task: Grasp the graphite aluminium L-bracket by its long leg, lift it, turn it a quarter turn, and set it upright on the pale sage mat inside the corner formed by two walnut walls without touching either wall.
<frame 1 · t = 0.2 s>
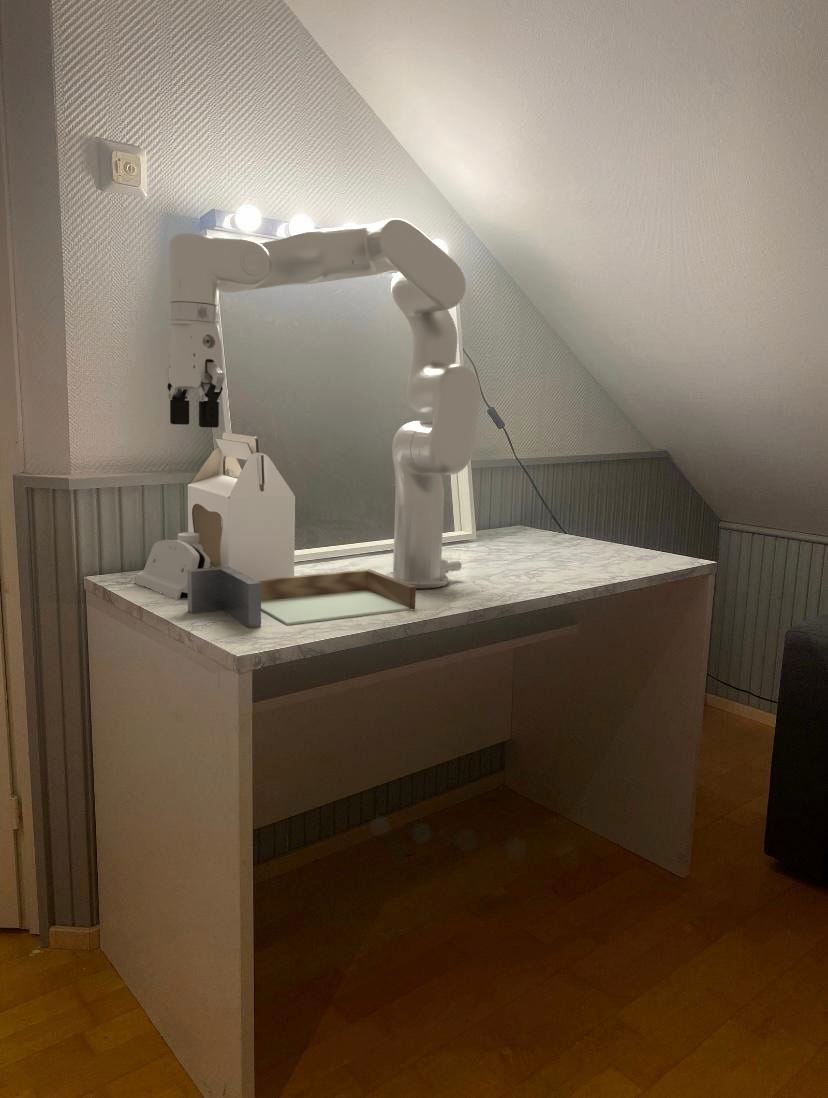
hand: (193, 425, 136), 30 cm above the table, tool pointing down, fingers open, 9 cm apart
walnut wall long: (312, 596, 151), on the table
pill bottle: (189, 580, 162), on the table
bracket: (238, 616, 136), on the table
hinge: (174, 590, 154), on the table
walnut wall short: (389, 600, 151), on the table
sage mat: (330, 607, 144), on the table
gable box: (239, 578, 165), on the table
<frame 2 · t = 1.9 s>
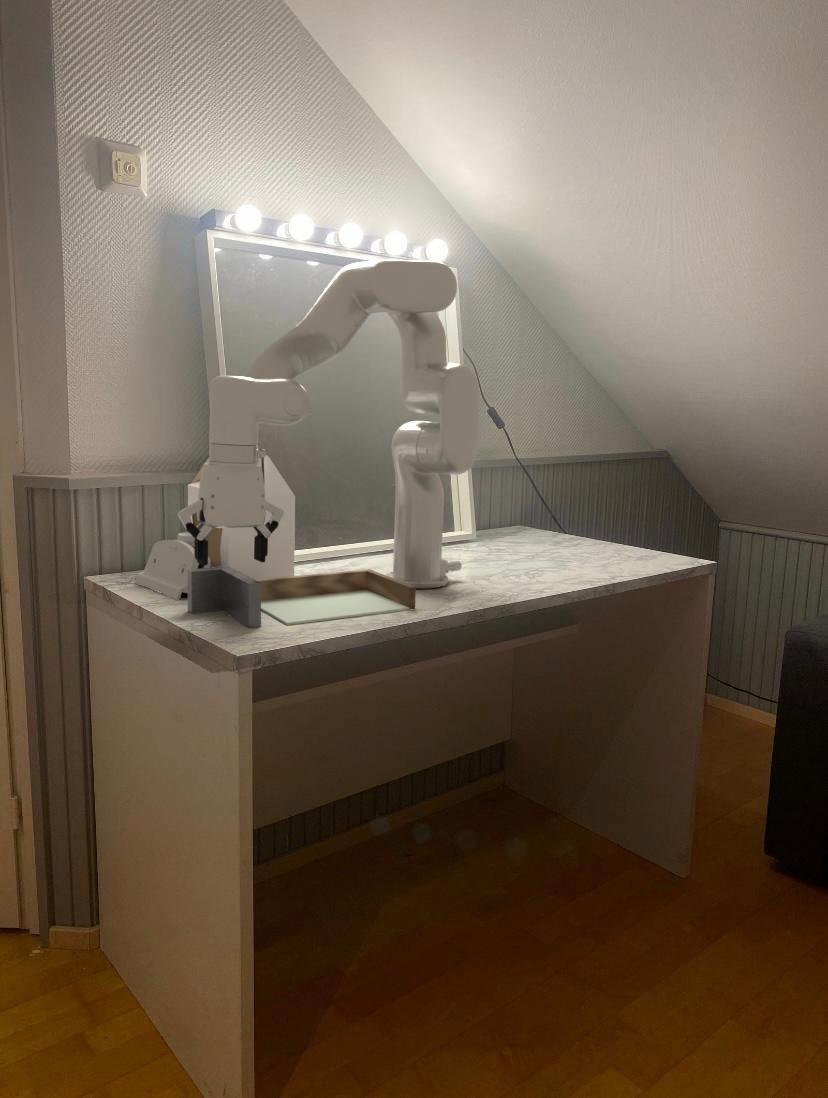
hand: (231, 562, 135), 9 cm above the table, tool pointing down, fingers open, 9 cm apart
nothing on the table moved.
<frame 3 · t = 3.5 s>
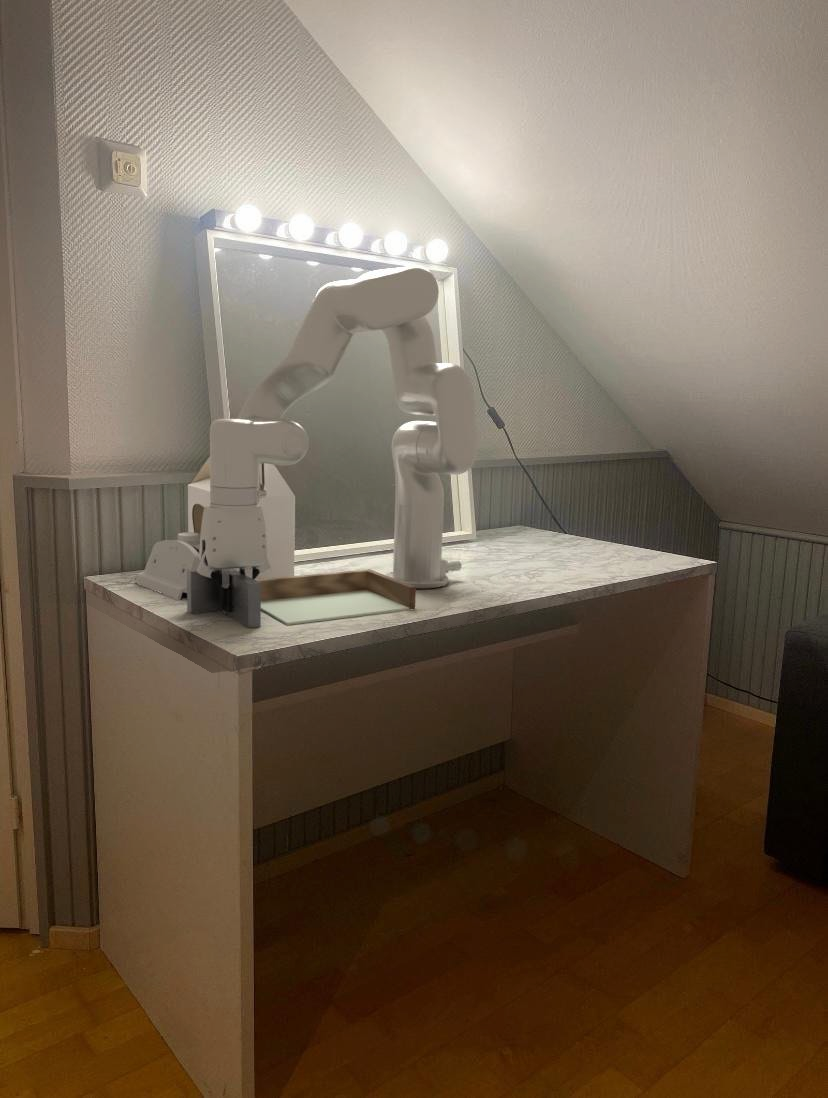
hand: (234, 608, 137), 1 cm above the table, tool pointing down, fingers closed on bracket
bracket: (237, 617, 136), on the table, touching gripper
everything else where it was.
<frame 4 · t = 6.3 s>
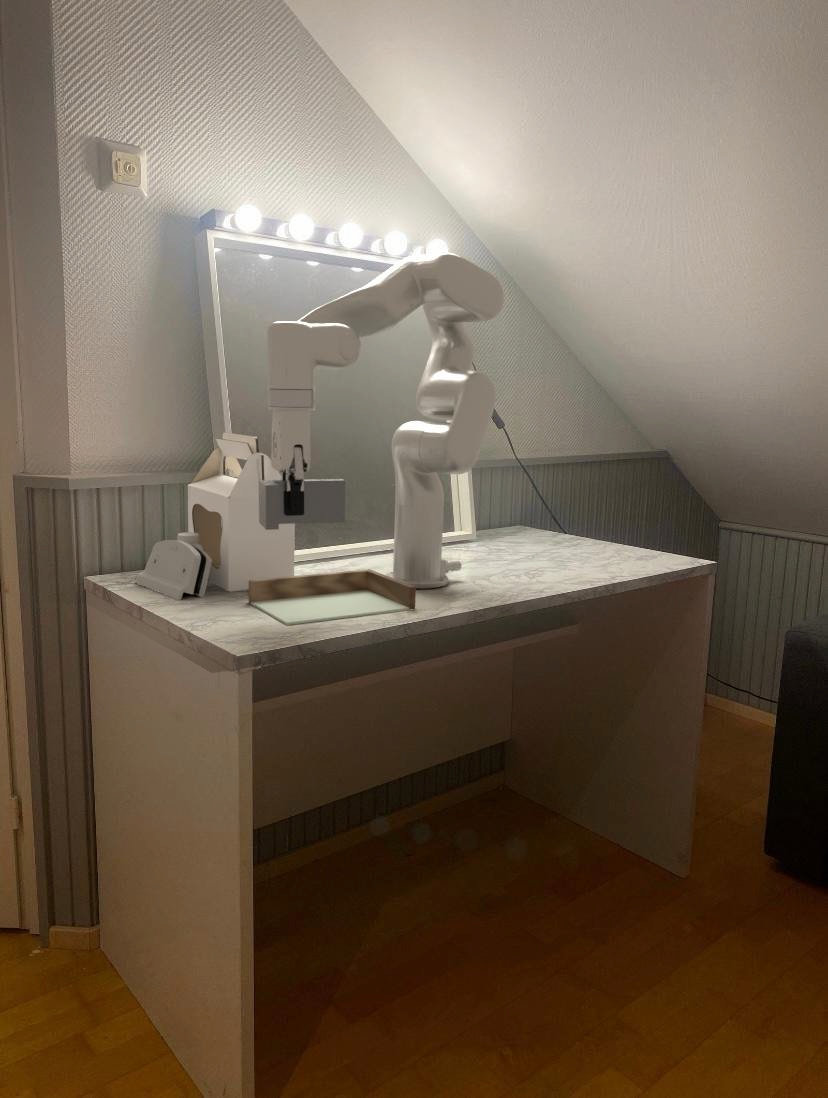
hand: (292, 513, 139), 16 cm above the table, tool pointing down, fingers closed on bracket
bracket: (302, 522, 139), point 15 cm above the table, touching gripper
everything else where it was.
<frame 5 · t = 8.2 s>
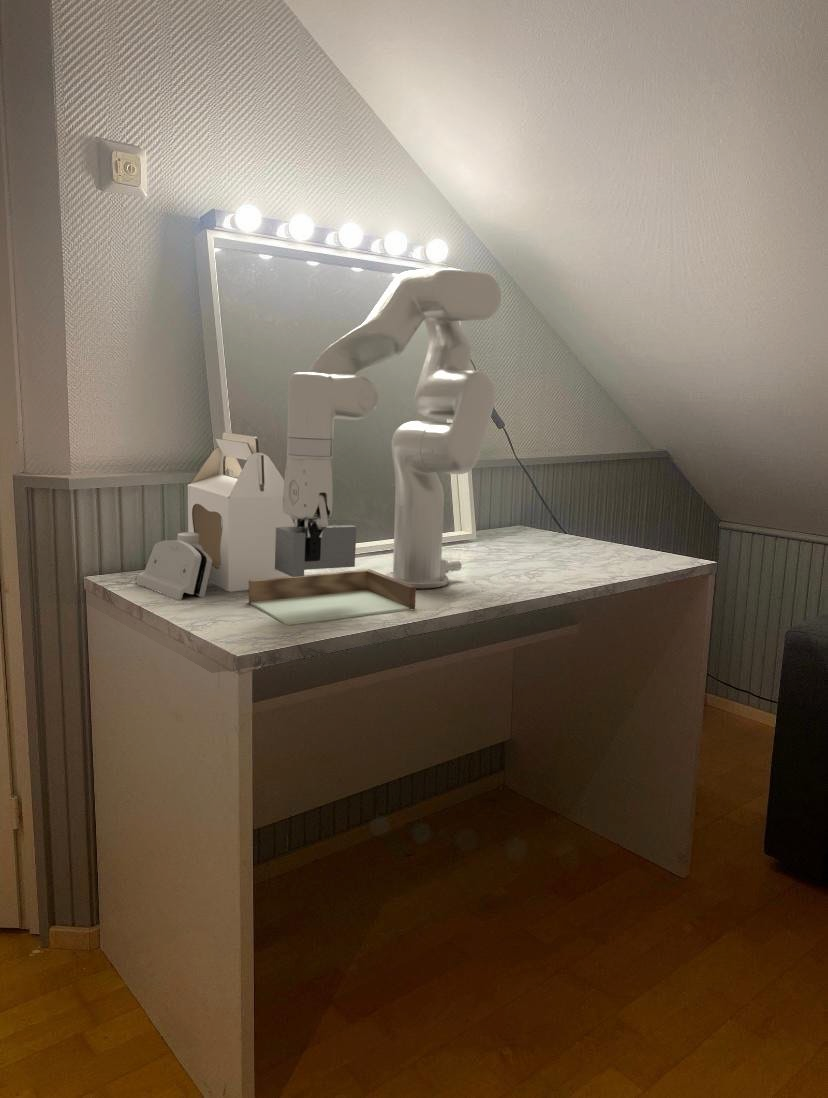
hand: (307, 558, 141), 9 cm above the table, tool pointing down, fingers closed on bracket
bracket: (315, 567, 142), point 7 cm above the table, touching gripper
everything else where it was.
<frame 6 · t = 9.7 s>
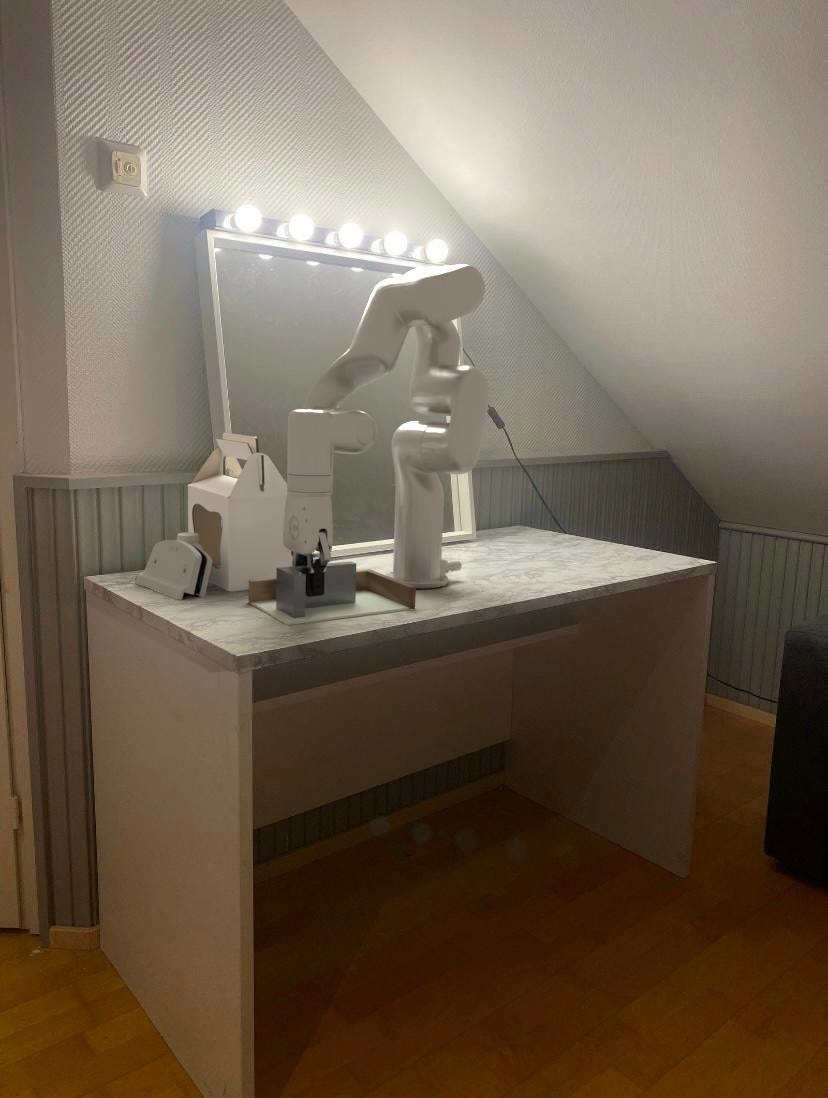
hand: (308, 591, 142), 3 cm above the table, tool pointing down, fingers open, 4 cm apart
bracket: (316, 605, 143), resting on sage mat
everything else where it was.
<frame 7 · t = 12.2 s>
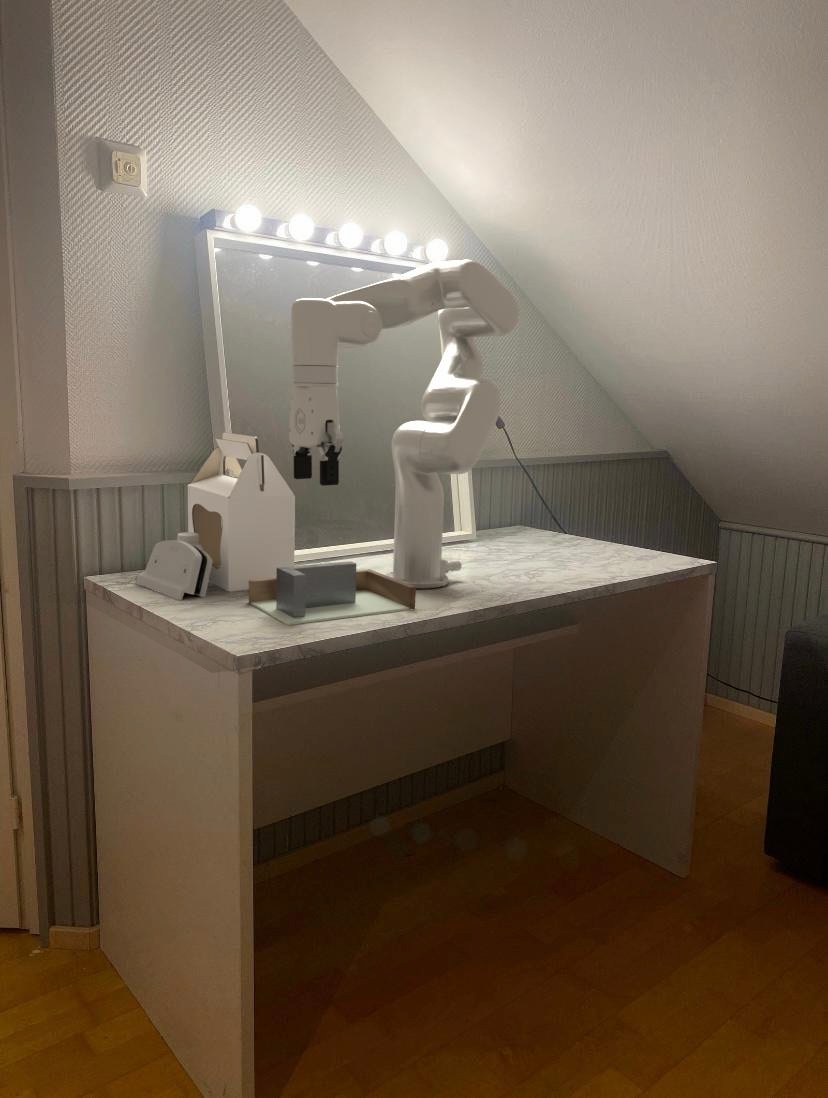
hand: (315, 481, 141), 22 cm above the table, tool pointing down, fingers open, 9 cm apart
nothing on the table moved.
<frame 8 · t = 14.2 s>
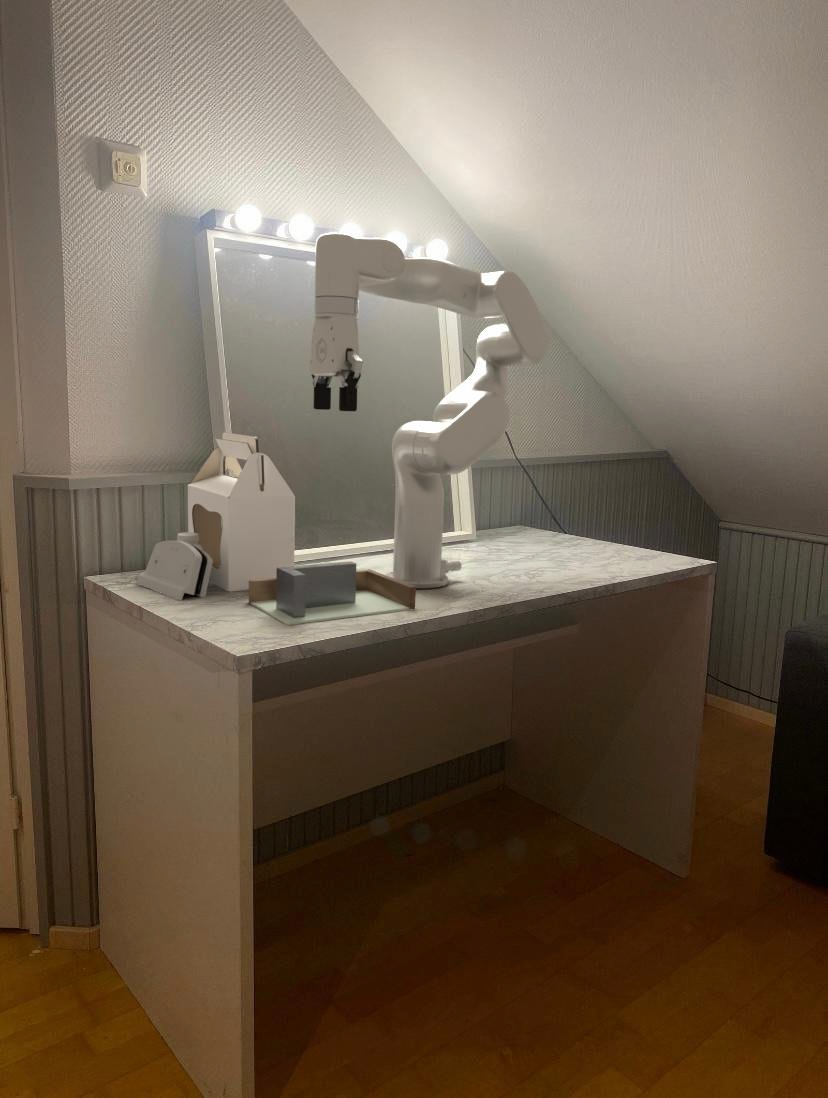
hand: (334, 410, 148), 33 cm above the table, tool pointing down, fingers open, 9 cm apart
nothing on the table moved.
at the end: bracket 0.4 cm from the target spot, resting on sage mat; bracket touching sage mat; bracket tilted 0° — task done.
